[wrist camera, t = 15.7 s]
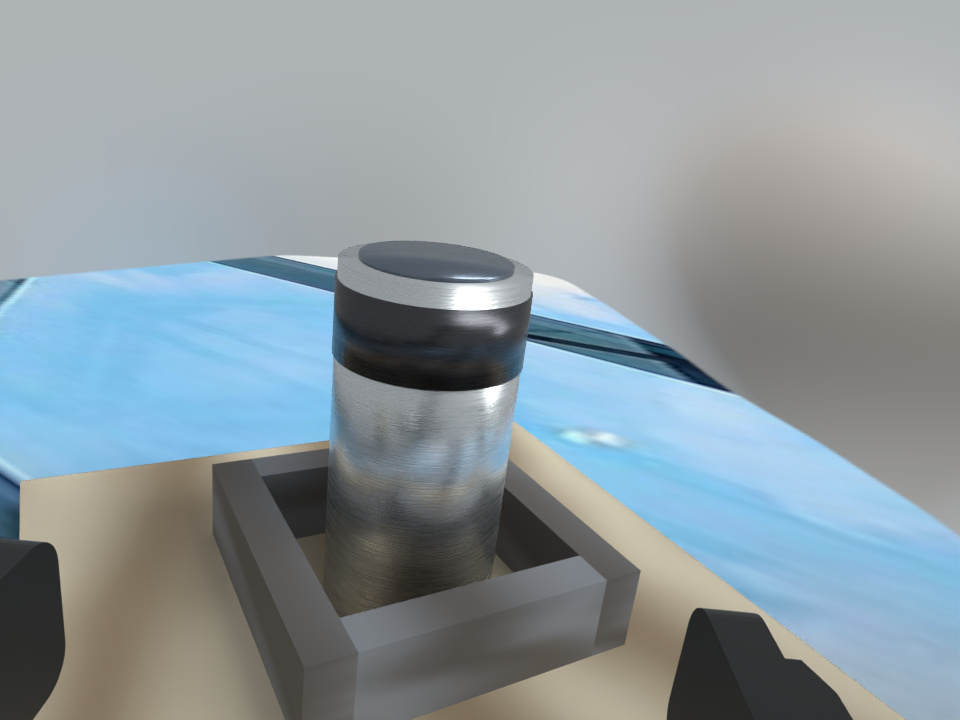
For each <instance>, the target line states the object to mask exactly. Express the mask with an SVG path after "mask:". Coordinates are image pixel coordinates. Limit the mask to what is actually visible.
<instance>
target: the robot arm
mask: <svg viewBox="0 0 960 720" xmlns="http://www.w3.org/2000/svg"><path fill="white" fill-rule="evenodd" d="M65 647H66V644H65V630H64V619H63V607H62V596H61V584H60V573H59V561H58V555H57V552H56V549H55V548H54V546H53V545H52V544H50V543H48V542H39V541H29V540H18V539H8V538H0V720H33V719H34V718H35V716H36V715H37V714H38V712H39V711H40V710H41V708H42V707H43V705H44V704H45V703H46V701H47V700H48V698H49V697H50V695H51V693H52V692H53V690H54V688H55V686H56V683H57V681H58V679H59V676H60V673H61V670H62V666H63V662H64V657H65ZM667 720H853V719H852V717H851V715H850V714H849V712H848V710H847V709H846V707H845V705H844V704H843V702H842V700H841V699H840V697H839V696H838V694H837V693H836V692H835V691H834V690H833V689H832V688H831V687H830V686H829V685H828V684H827V683H826V682H824V681H823V680H822V679H821V678H820V677H819V676H818V675H817V674H816V673H815V672H814V671H813V670H812V669H811V668H810V667H808V666H807V665H806V664H805V663H804V662H803V661H802V660H797V659H787V658H784V656H783V654H782V652H781V650H780V649H779V647H778V645H777V643H776V641H775V640H774V638H773V636H772V634H771V632H770V630H769V629H768V627H767V625H766V623H765V622H764V620H763V618H762V617H761V616H760V615H758V614H757V613H749V612H739V611H729V610H718V609H708V608H696V609H695V610H694V611H693V613H692V615H691V617H690V619H689V623H688V627H687V631H686V634H685V638H684V642H683V646H682V650H681V654H680V658H679V662H678V666H677V670H676V674H675V678H674V682H673V686H672V690H671V694H670V698H669V702H668V709H667Z"/></svg>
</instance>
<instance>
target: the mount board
mask: <svg viewBox="0 0 960 720" xmlns="http://www.w3.org/2000/svg"><path fill="white" fill-rule="evenodd" d="M329 444H330V440H329V441H322V442H314V443H307V444H299V445H291V446H284V447H276V448H269V449H261V450H253V451H246V452H238V453H230V454H223V455H215V456H208V457H200V458H192V459H185V460H177V461H170V462H162V463H154V464H147V465H139V466H131V467H124V468H116V469H109V470H101V471H93V472H86V473H78V474H71V475H63V476H55V477H48V478H40V479H32V480H25V481H20V540H29V541H39V542H48V543H50V544H52V545H53V546H54V548H55V549H56V552H57V555H58V561H59V573H60V584H61V596H62V607H63V619H64V630H65V644H66V647H65V657H64V662H63V666H62V670H61V673H60V676H59V679H58V681H57V683H56V686H55V688H54V690H53V692H52V693H51V695H50V697H49V698H48V700H47V701H46V703H45V704H44V705H43V707H42V708H41V710H40V711H39V712H38V714H37V715H36V716H35V718H34V719H33V720H667V709H668V702H669V698H670V694H671V690H672V686H673V682H674V678H675V674H676V670H677V666H678V662H679V658H680V654H681V650H682V646H683V642H684V638H685V634H686V631H687V627H688V623H689V619H690V617H691V615H692V613H693V611H694V610H695V609H696V608H708V609H718V610H729V611H739V612H749V613H757V614H758V615H760V616H761V617H762V618H763V620H764V622H765V623H766V625H767V627H768V629H769V630H770V632H771V634H772V636H773V638H774V640H775V641H776V643H777V645H778V647H779V649H780V650H781V652H782V654H783V656H784V658H787V659H797V660H802V661H803V662H804V663H805V664H806V665H807V666H808V667H810V668H811V669H812V670H813V671H814V672H815V673H816V674H817V675H818V676H819V677H820V678H821V679H822V680H823V681H824V682H826V683H827V684H828V685H829V686H830V687H831V688H832V689H833V690H834V691H835V692H836V693H837V694H838V696H839V697H840V699H841V700H842V702H843V704H844V705H845V707H846V709H847V710H848V712H849V714H850V715H851V717H852V719H853V720H906V719H905V718H903V717H902V716H901V715H899V714H898V713H897V712H895V711H894V710H893V709H892V708H890V707H889V706H888V705H886V704H885V703H884V702H882V701H881V700H880V699H878V698H877V697H876V696H874V695H873V694H872V693H871V692H869V691H868V690H867V689H865V688H864V687H863V686H861V685H860V684H859V683H857V682H856V681H855V680H853V679H852V678H851V677H850V676H848V675H847V674H846V673H844V672H843V671H842V670H840V669H839V668H838V667H836V666H835V665H834V664H832V663H831V662H830V661H828V660H827V659H826V658H825V657H823V656H822V655H821V654H819V653H818V652H817V651H815V650H814V649H813V648H811V647H810V646H809V645H807V644H806V643H805V642H804V641H802V640H801V639H800V638H798V637H797V636H796V635H794V634H793V633H792V632H790V631H789V630H788V629H786V628H785V627H784V626H782V625H781V624H780V623H779V622H777V621H776V620H775V619H773V618H772V617H771V616H769V615H768V614H767V613H765V612H764V611H763V610H761V609H760V608H759V607H758V606H756V605H755V604H754V603H752V602H751V601H750V600H748V599H747V598H746V597H744V596H743V595H742V594H740V593H739V592H738V591H737V590H735V589H734V588H733V587H731V586H730V585H729V584H727V583H726V582H725V581H723V580H722V579H721V578H719V577H718V576H717V575H715V574H714V573H713V572H712V571H710V570H709V569H708V568H706V567H705V566H704V565H702V564H701V563H700V562H698V561H697V560H696V559H694V558H693V557H692V556H691V555H689V554H688V553H687V552H685V551H684V550H683V549H681V548H680V547H679V546H677V545H676V544H675V543H673V542H672V541H671V540H669V539H668V538H667V537H666V536H664V535H663V534H662V533H660V532H659V531H658V530H656V529H655V528H654V527H652V526H651V525H650V524H648V523H647V522H646V521H645V520H643V519H642V518H641V517H639V516H638V515H637V514H635V513H634V512H633V511H631V510H630V509H629V508H627V507H626V506H625V505H624V504H622V503H621V502H620V501H618V500H617V499H616V498H614V497H613V496H612V495H610V494H609V493H608V492H606V491H605V490H604V489H602V488H601V487H600V486H599V485H597V484H596V483H595V482H593V481H592V480H591V479H589V478H588V477H587V476H585V475H584V474H583V473H581V472H580V471H579V470H578V469H576V468H575V467H574V466H572V465H571V464H570V463H568V462H567V461H566V460H564V459H563V458H562V457H560V456H559V455H558V454H557V453H555V452H554V451H553V450H551V449H550V448H549V447H547V446H546V445H545V444H543V443H542V442H541V441H539V440H538V439H537V438H535V437H534V436H533V435H532V434H530V433H529V432H528V431H526V430H525V429H524V428H522V427H521V426H520V425H518V424H517V423H516V422H514V421H513V427H512V434H511V441H510V449H509V456H508V463H507V470H506V477H505V485H504V492H503V499H502V506H501V513H500V521H499V528H498V535H497V542H496V549H495V557H494V564H493V571H492V578H491V579H488V580H484V581H480V582H476V583H472V584H468V585H464V586H461V587H457V588H453V589H449V590H445V591H441V592H438V593H434V594H430V595H426V596H422V597H418V598H415V599H411V600H407V601H403V602H399V603H395V604H391V605H388V606H384V607H380V608H376V609H372V610H368V611H365V612H361V613H357V614H353V615H349V616H345V617H342V618H339V616H338V615H337V613H336V611H335V609H334V607H333V605H332V604H331V602H330V600H329V598H328V596H327V595H326V593H325V591H324V589H323V572H324V551H325V529H326V508H327V486H328V465H329Z"/></svg>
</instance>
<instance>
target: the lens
mask: <svg viewBox="0 0 960 720" xmlns="http://www.w3.org/2000/svg"><path fill="white" fill-rule="evenodd" d="M532 283H533V272H532V271H531V270H530V269H529V268H528V267H526V266H525V265H523V264H521V263H519V262H517V261H514V260H511V259H509V258H506V257H502V256H500V255H497V254H494V253H491V252H488V251H484V250H480V249H476V248H471V247H465V246H460V245H453V244H445V243H436V242H425V241H386V242H378V243H370V244H362V245H357V246H352V247H349V248H347V249H344V250H342V251H341V252H340V253H339V255H338V271H337V272H336V274H335V294H334V316H333V337H332V354H333V356H334V358H333V379H332V401H331V422H330V444H329V465H328V486H327V508H326V529H325V551H324V572H323V589H324V591H325V593H326V595H327V596H328V598H329V600H330V602H331V604H332V605H333V607H334V609H335V611H336V613H337V615H338V616H339V618H342V617H345V616H349V615H353V614H357V613H361V612H365V611H368V610H372V609H376V608H380V607H384V606H388V605H391V604H395V603H399V602H403V601H407V600H411V599H415V598H418V597H422V596H426V595H430V594H434V593H438V592H441V591H445V590H449V589H453V588H457V587H461V586H464V585H468V584H472V583H476V582H480V581H484V580H488V579H491V578H492V571H493V564H494V557H495V549H496V542H497V535H498V528H499V521H500V513H501V506H502V499H503V492H504V485H505V477H506V470H507V463H508V456H509V449H510V441H511V434H512V427H513V420H514V412H515V405H516V398H517V391H518V384H519V376H520V373H521V371H522V368H523V361H524V354H525V347H526V340H527V333H528V326H529V318H530V311H531V304H532V297H533V292H532Z"/></svg>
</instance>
